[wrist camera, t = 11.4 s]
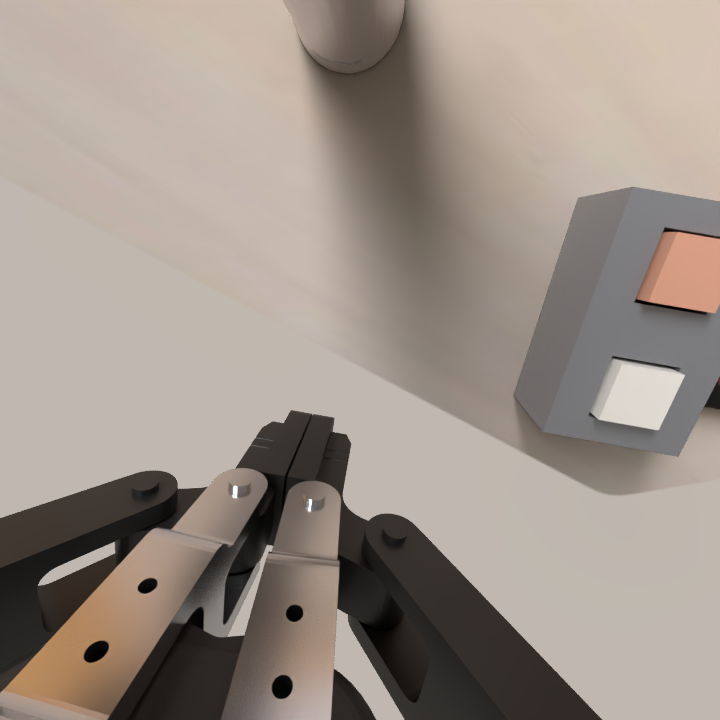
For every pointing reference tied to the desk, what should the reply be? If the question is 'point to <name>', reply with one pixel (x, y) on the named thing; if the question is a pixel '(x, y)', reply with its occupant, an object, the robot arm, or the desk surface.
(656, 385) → the white key
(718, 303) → the terracotta key
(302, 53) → the desk surface
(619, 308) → the key console
